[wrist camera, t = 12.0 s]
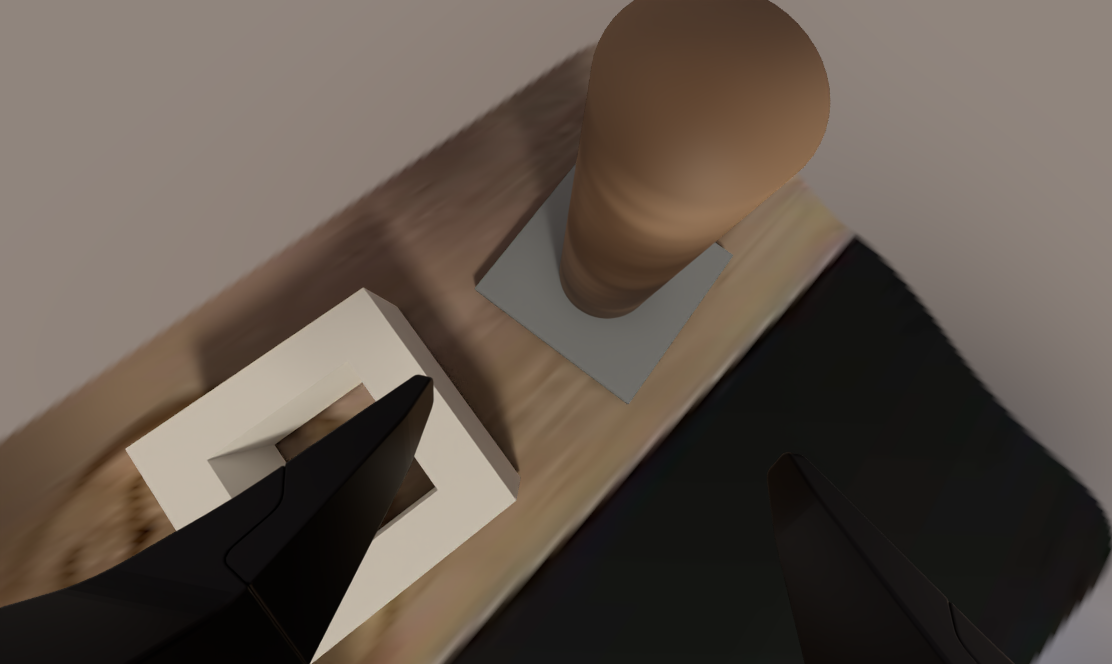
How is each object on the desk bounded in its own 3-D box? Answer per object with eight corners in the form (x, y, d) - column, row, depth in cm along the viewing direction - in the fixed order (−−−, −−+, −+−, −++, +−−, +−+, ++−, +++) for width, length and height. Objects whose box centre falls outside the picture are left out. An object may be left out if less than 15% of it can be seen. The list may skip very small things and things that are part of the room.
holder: (520, 477, 20) (516, 500, 16) (333, 626, 18) (276, 691, 14) (396, 306, 21) (363, 287, 17) (209, 436, 19) (125, 449, 15)
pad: (728, 258, 22) (733, 255, 21) (626, 403, 20) (628, 403, 20) (585, 155, 22) (586, 149, 22) (475, 290, 21) (474, 288, 20)
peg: (670, 264, 21) (873, 69, 8) (616, 337, 20) (746, 249, 8) (595, 210, 21) (679, -59, 8) (540, 281, 21) (541, 102, 8)
